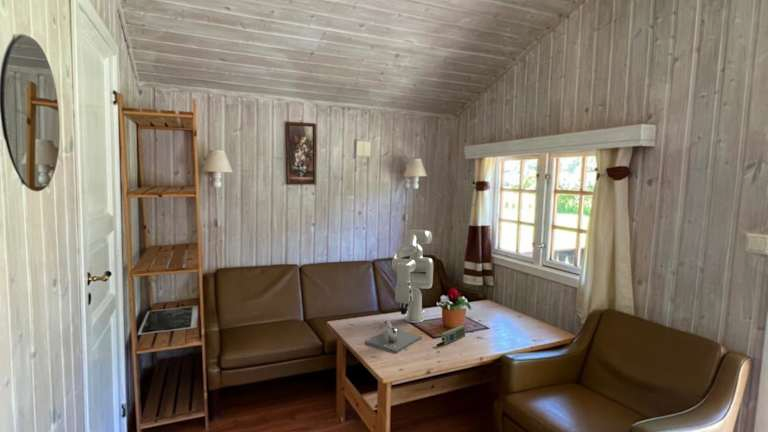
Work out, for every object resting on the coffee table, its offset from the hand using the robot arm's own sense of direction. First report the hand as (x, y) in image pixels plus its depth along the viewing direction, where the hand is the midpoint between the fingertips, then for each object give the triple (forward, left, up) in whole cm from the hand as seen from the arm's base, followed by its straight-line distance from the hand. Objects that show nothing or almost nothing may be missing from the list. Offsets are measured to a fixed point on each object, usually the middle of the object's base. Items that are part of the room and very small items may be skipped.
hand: (403, 313), depth 251 cm
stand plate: (+5, -4, -16) cm, 17 cm away
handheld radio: (-15, +23, -16) cm, 32 cm away
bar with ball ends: (+5, -6, -14) cm, 16 cm away
